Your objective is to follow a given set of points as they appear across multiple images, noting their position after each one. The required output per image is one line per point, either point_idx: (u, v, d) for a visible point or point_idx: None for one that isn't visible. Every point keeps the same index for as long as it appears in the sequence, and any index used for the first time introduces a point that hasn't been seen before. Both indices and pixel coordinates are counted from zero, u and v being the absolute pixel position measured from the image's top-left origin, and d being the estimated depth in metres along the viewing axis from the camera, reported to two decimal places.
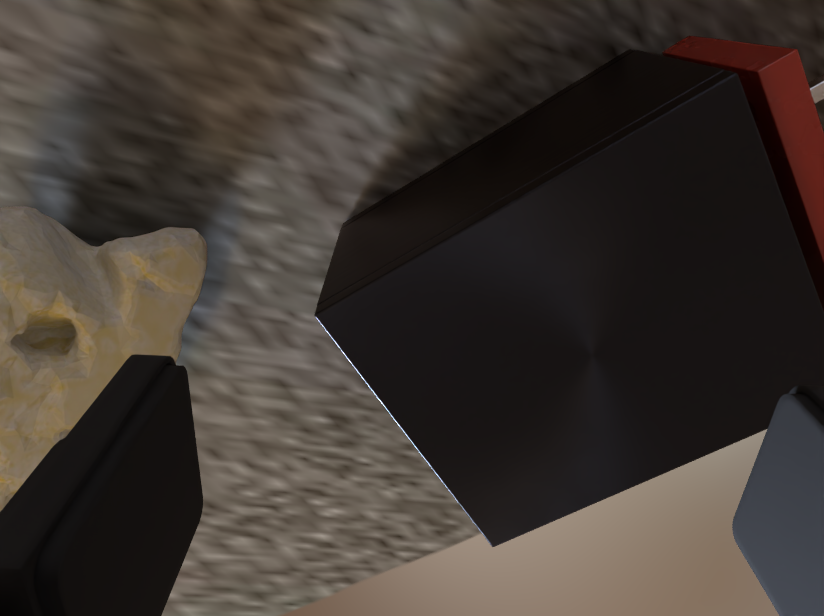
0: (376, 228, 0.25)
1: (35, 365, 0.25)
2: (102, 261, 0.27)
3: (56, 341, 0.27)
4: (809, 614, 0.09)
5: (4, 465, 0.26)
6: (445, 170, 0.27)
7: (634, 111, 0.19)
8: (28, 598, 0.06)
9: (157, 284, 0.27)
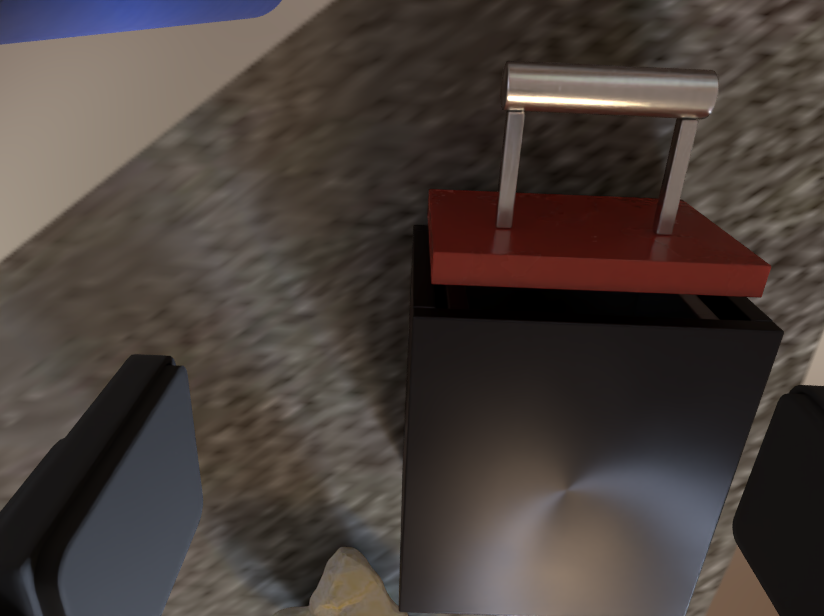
0: None
1: None
2: None
3: None
4: (809, 614, 0.09)
5: None
6: None
7: None
8: (28, 598, 0.06)
9: (350, 604, 0.36)
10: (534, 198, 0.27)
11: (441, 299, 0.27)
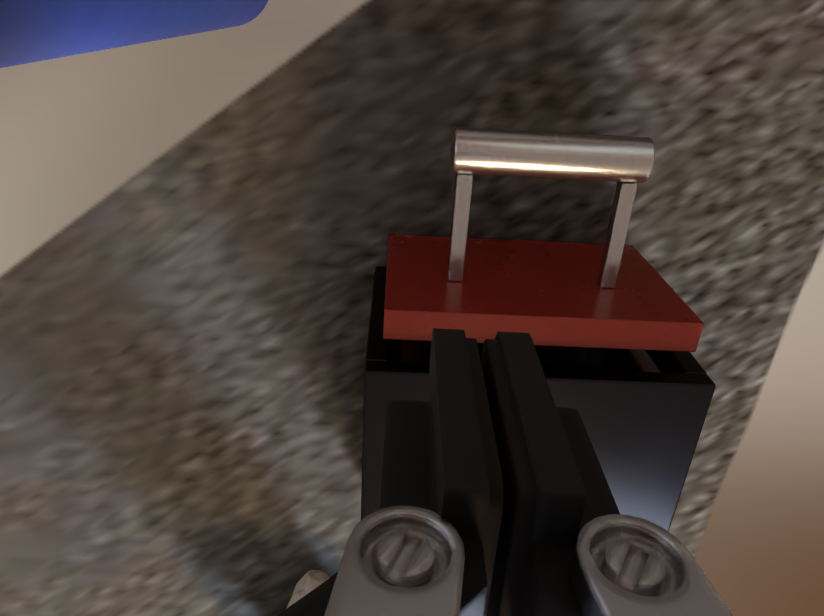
0: None
1: None
2: None
3: None
4: None
5: None
6: None
7: None
8: (482, 517, 0.07)
9: None
10: (490, 244, 0.28)
11: None
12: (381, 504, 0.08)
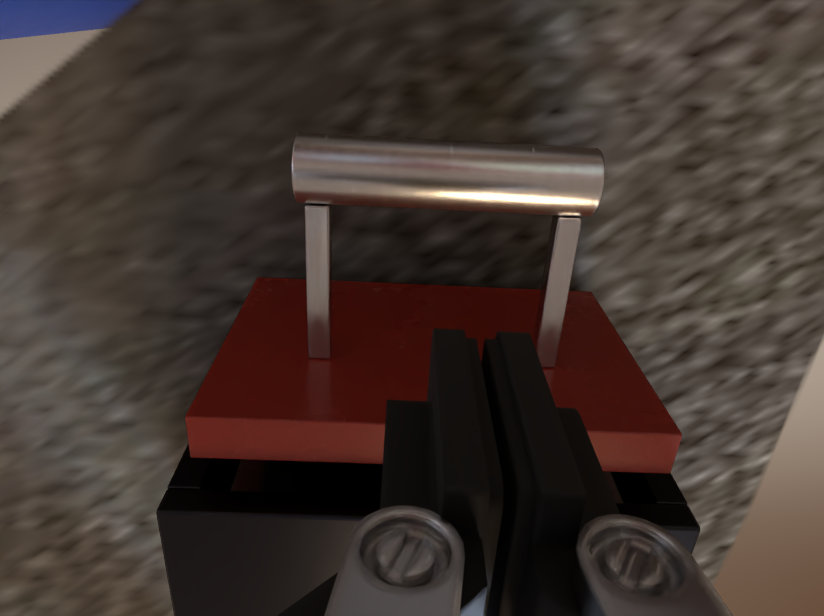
0: None
1: None
2: None
3: None
4: None
5: None
6: None
7: None
8: (482, 518, 0.07)
9: None
10: (393, 293, 0.20)
11: None
12: (381, 504, 0.08)
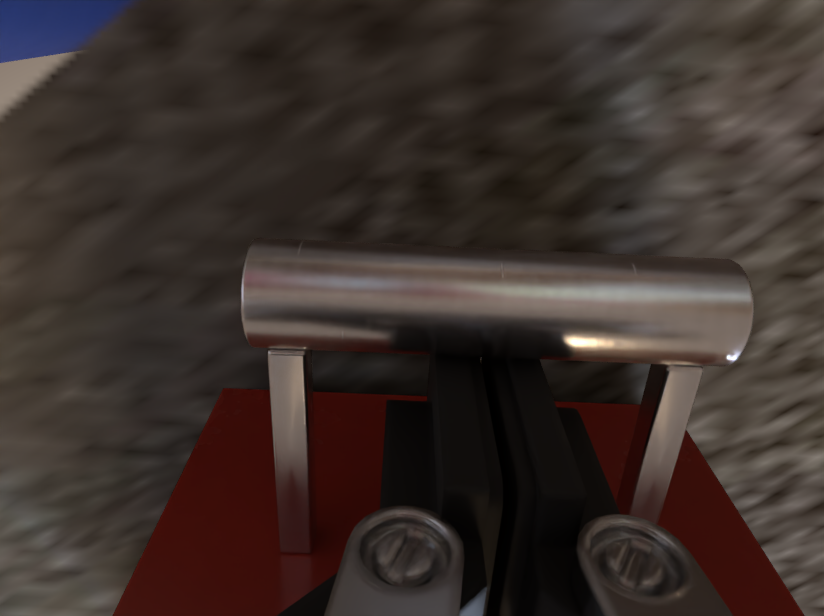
0: None
1: None
2: None
3: None
4: None
5: None
6: None
7: None
8: (482, 518, 0.07)
9: None
10: None
11: None
12: (381, 504, 0.08)
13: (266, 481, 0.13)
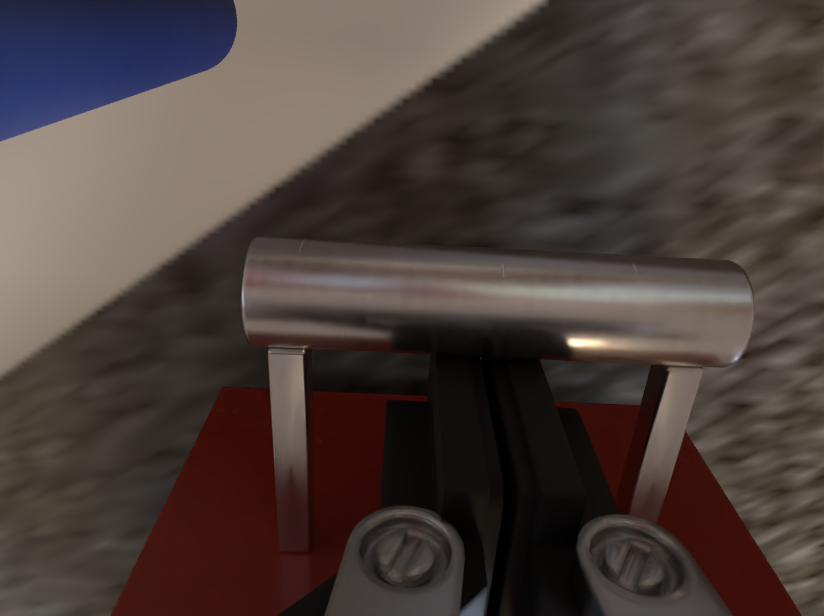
0: None
1: None
2: None
3: None
4: None
5: None
6: None
7: None
8: (482, 517, 0.07)
9: None
10: None
11: None
12: (381, 504, 0.08)
13: (265, 480, 0.13)
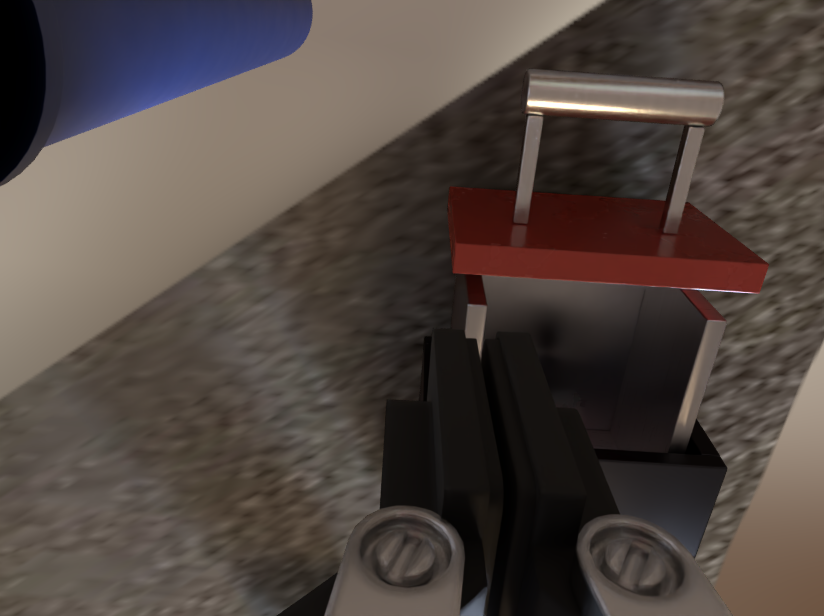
0: None
1: None
2: None
3: None
4: None
5: None
6: None
7: None
8: (482, 518, 0.07)
9: None
10: (549, 197, 0.29)
11: (459, 290, 0.28)
12: (381, 504, 0.08)
13: (493, 209, 0.26)
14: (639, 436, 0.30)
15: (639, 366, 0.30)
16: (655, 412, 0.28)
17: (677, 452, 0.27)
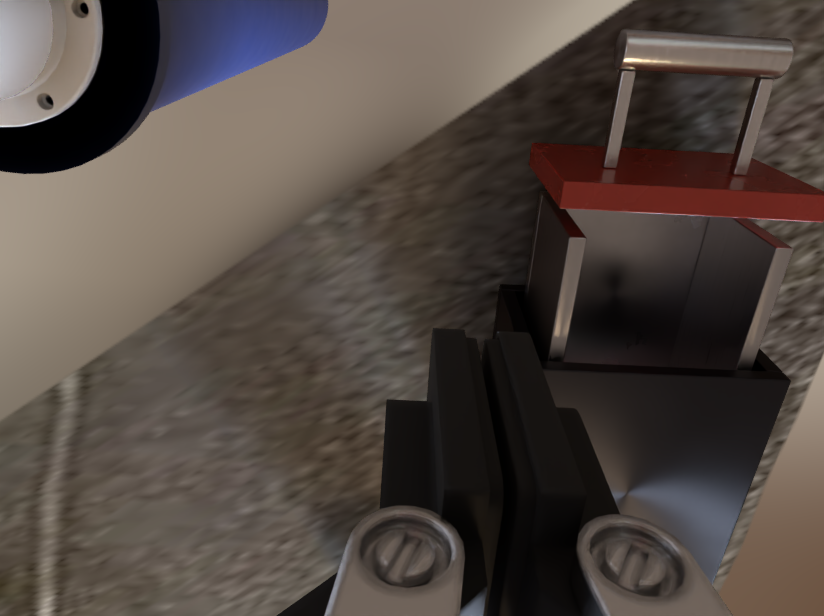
0: None
1: None
2: None
3: None
4: None
5: None
6: None
7: None
8: (482, 518, 0.07)
9: None
10: (623, 150, 0.32)
11: (545, 234, 0.32)
12: (381, 504, 0.08)
13: (580, 158, 0.30)
14: (703, 363, 0.33)
15: (701, 302, 0.34)
16: (721, 338, 0.32)
17: None
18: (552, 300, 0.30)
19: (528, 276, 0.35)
